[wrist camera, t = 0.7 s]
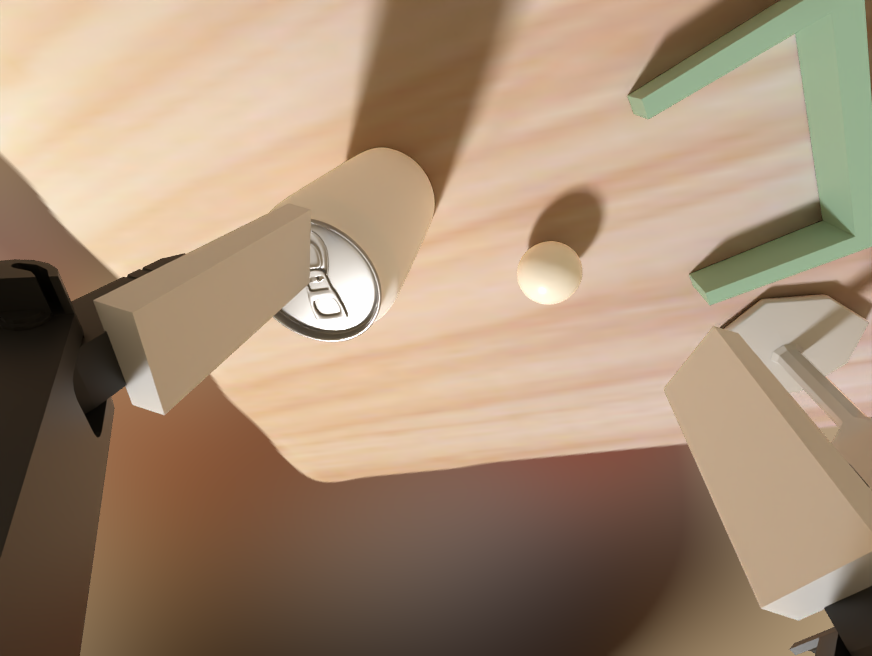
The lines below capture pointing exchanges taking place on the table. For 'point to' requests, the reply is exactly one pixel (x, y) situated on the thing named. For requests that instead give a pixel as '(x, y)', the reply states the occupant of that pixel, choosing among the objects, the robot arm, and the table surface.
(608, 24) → the table surface
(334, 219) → the can
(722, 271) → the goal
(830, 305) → the wineglass
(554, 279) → the ball
